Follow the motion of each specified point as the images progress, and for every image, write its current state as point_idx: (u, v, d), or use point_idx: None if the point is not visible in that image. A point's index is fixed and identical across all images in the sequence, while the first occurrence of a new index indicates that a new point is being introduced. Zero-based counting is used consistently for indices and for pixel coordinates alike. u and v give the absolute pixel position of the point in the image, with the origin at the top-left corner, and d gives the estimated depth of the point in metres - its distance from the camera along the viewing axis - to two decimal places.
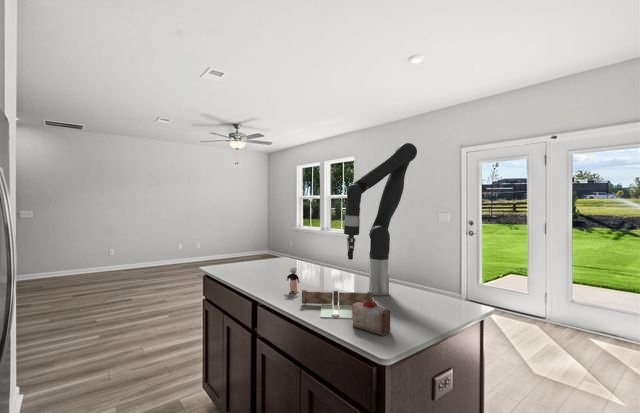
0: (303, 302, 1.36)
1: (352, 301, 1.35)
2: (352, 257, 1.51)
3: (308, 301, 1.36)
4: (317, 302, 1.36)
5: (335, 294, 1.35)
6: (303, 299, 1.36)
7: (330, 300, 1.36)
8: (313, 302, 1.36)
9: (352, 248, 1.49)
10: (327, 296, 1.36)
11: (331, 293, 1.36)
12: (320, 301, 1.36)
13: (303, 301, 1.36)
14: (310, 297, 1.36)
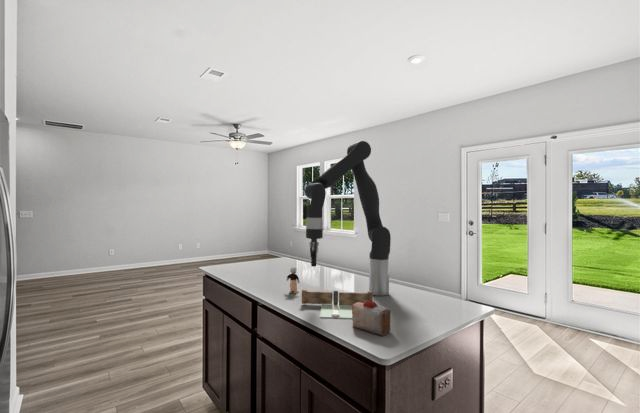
0: (303, 302, 1.36)
1: (352, 301, 1.35)
2: (315, 264, 1.42)
3: (308, 301, 1.36)
4: (317, 302, 1.36)
5: (335, 294, 1.35)
6: (303, 299, 1.36)
7: (330, 300, 1.36)
8: (313, 302, 1.36)
9: (314, 254, 1.40)
10: (327, 296, 1.36)
11: (331, 293, 1.36)
12: (320, 301, 1.36)
13: (303, 301, 1.36)
14: (310, 297, 1.36)
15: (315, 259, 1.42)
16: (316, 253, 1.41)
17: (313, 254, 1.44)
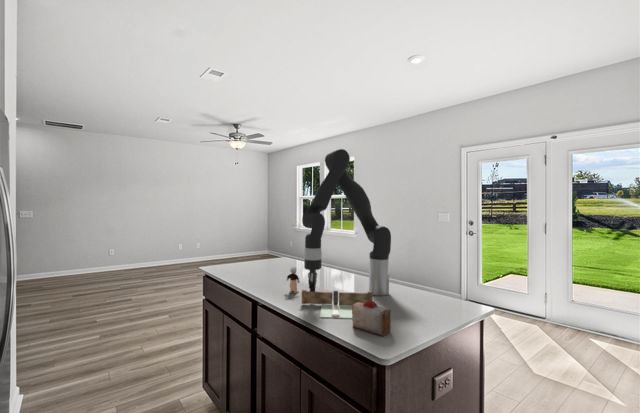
0: (303, 302, 1.36)
1: (352, 301, 1.35)
2: None
3: (308, 301, 1.36)
4: (317, 302, 1.36)
5: (335, 294, 1.35)
6: (303, 299, 1.36)
7: (330, 300, 1.36)
8: (313, 302, 1.36)
9: (313, 286, 1.37)
10: (327, 296, 1.36)
11: (331, 293, 1.36)
12: (320, 301, 1.36)
13: (303, 301, 1.36)
14: (310, 297, 1.36)
15: (314, 290, 1.39)
16: (315, 284, 1.38)
17: None
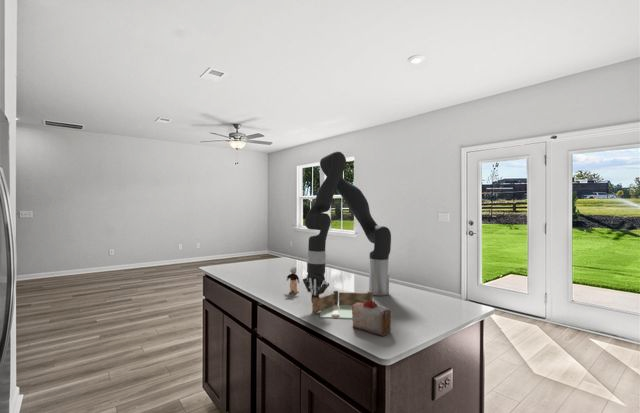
0: (316, 311, 1.25)
1: (352, 301, 1.35)
2: None
3: (319, 308, 1.27)
4: (325, 307, 1.30)
5: (337, 294, 1.36)
6: (316, 308, 1.25)
7: (333, 301, 1.34)
8: (322, 308, 1.29)
9: (321, 291, 1.29)
10: (331, 298, 1.33)
11: (334, 294, 1.35)
12: (327, 305, 1.31)
13: (316, 310, 1.25)
14: (320, 303, 1.28)
15: None
16: (320, 289, 1.30)
17: None
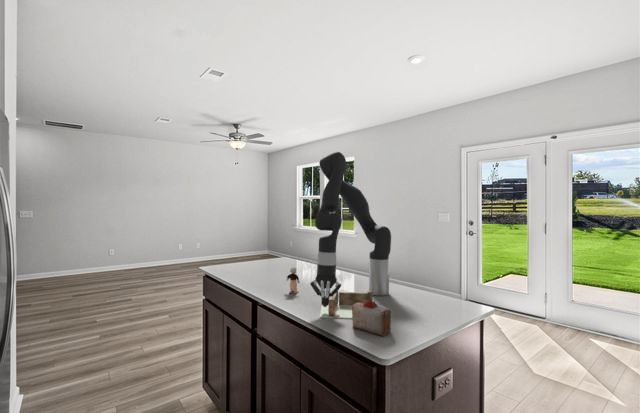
0: (333, 313, 1.23)
1: (352, 301, 1.35)
2: None
3: None
4: (334, 308, 1.29)
5: (337, 294, 1.36)
6: (333, 310, 1.23)
7: (336, 301, 1.34)
8: (334, 310, 1.27)
9: None
10: (336, 298, 1.33)
11: (336, 294, 1.34)
12: (335, 306, 1.30)
13: (333, 312, 1.23)
14: None
15: None
16: (329, 290, 1.28)
17: None
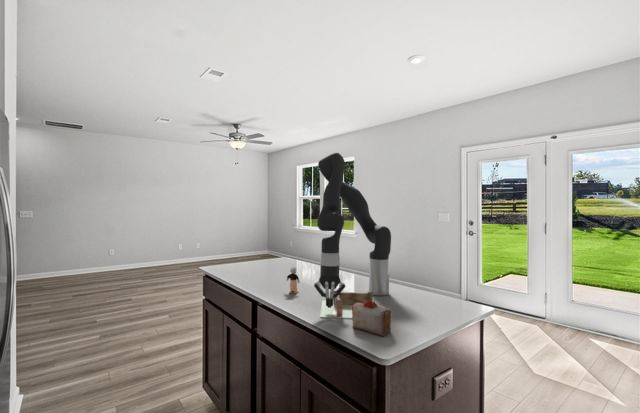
0: (342, 313, 1.23)
1: (352, 301, 1.35)
2: None
3: None
4: None
5: None
6: None
7: None
8: None
9: None
10: None
11: None
12: None
13: (342, 312, 1.23)
14: None
15: None
16: None
17: None
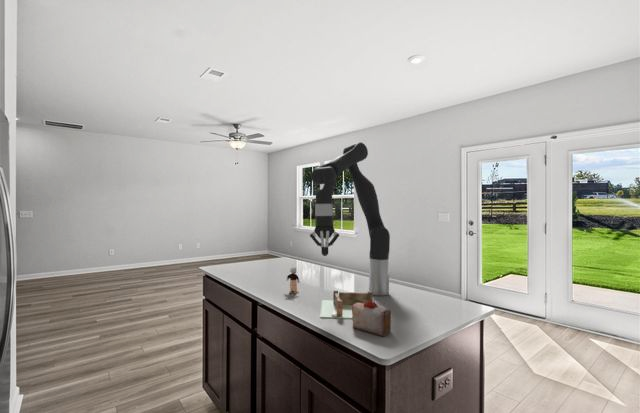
0: (342, 313, 1.23)
1: (352, 301, 1.35)
2: None
3: None
4: None
5: (337, 293, 1.36)
6: None
7: None
8: None
9: None
10: None
11: (337, 294, 1.35)
12: None
13: (342, 312, 1.23)
14: None
15: None
16: None
17: None
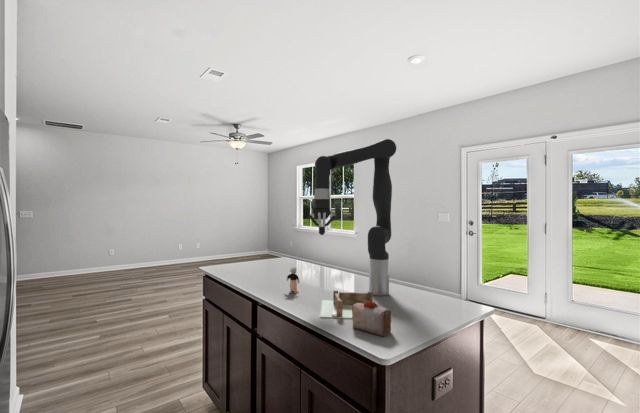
0: (342, 313, 1.23)
1: (352, 301, 1.35)
2: None
3: None
4: None
5: (337, 293, 1.36)
6: None
7: None
8: None
9: None
10: None
11: (337, 294, 1.35)
12: None
13: (342, 312, 1.23)
14: None
15: None
16: None
17: None
